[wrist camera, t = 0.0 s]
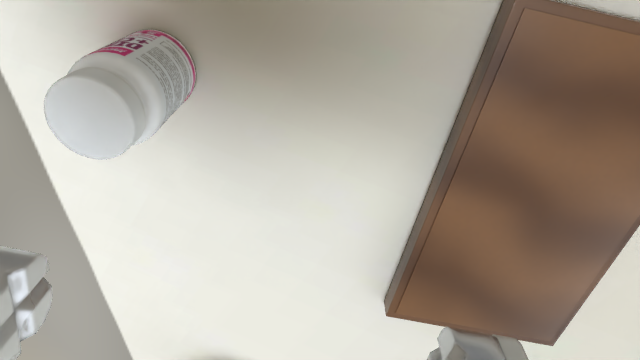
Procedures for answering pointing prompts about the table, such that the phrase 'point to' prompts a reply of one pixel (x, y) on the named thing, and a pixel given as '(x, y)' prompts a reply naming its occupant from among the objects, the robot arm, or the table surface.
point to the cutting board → (530, 178)
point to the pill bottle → (120, 94)
